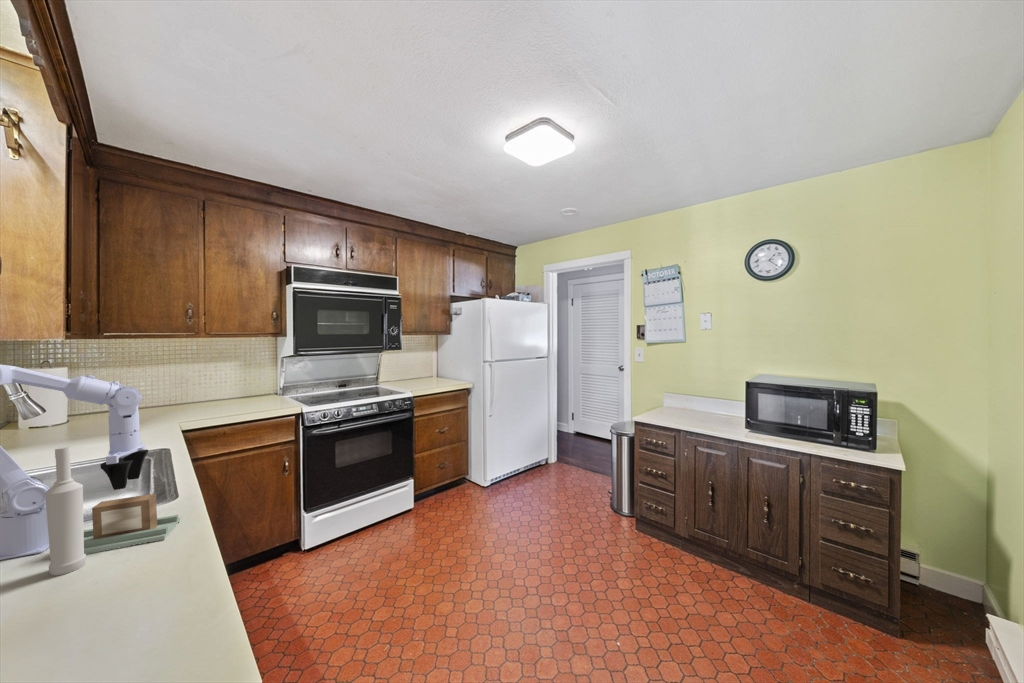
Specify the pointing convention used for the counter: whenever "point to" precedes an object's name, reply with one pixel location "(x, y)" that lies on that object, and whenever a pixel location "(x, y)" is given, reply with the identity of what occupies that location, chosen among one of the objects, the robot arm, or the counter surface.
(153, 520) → the picture frame
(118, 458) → the robot arm
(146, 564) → the counter surface
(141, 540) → the picture ledge
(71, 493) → the bottle
